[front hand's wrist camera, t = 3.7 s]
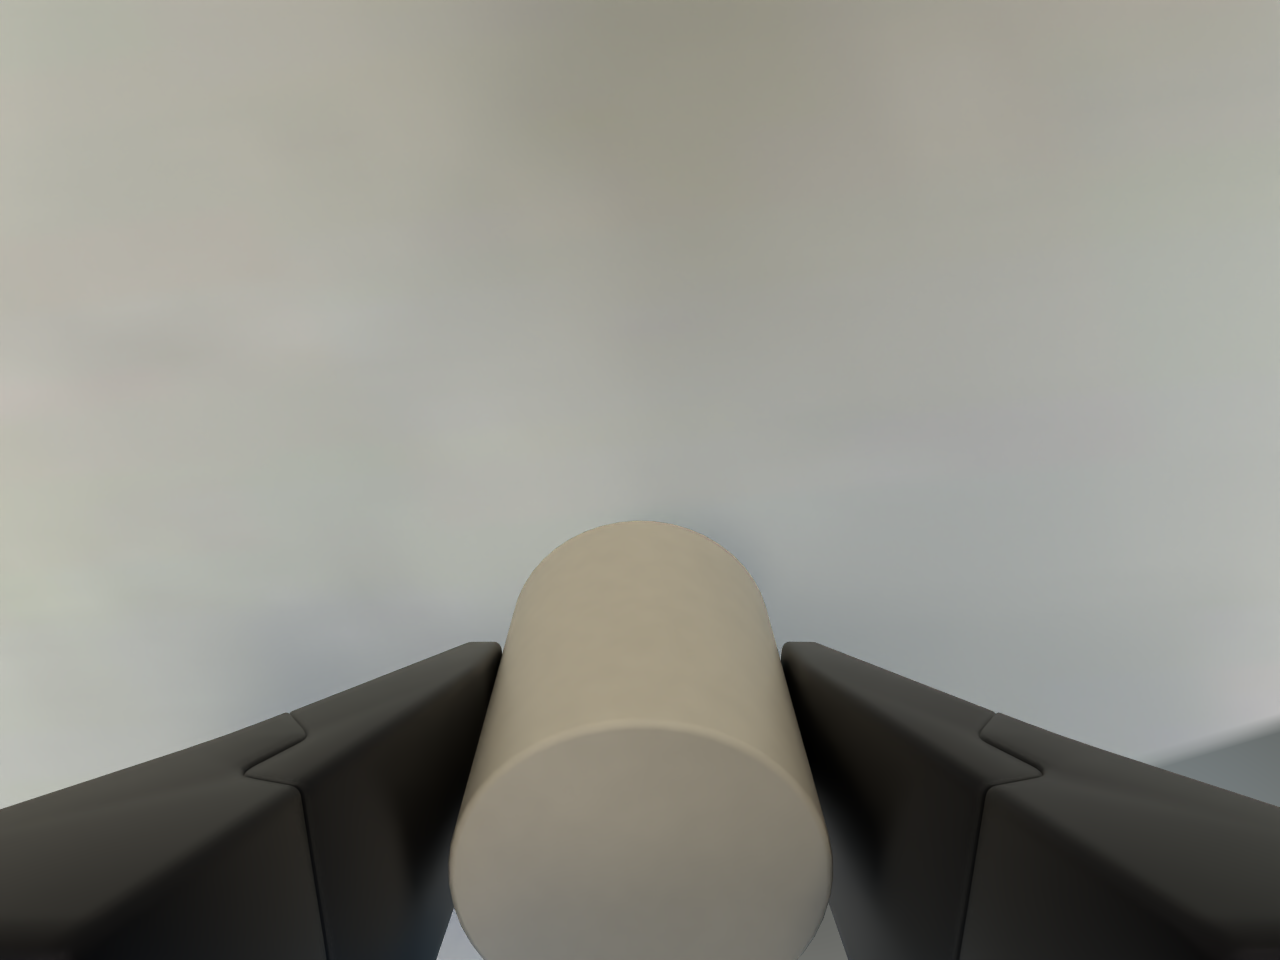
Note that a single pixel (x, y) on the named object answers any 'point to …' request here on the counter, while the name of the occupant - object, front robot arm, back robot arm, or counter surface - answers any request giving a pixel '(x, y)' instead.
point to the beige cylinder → (640, 767)
